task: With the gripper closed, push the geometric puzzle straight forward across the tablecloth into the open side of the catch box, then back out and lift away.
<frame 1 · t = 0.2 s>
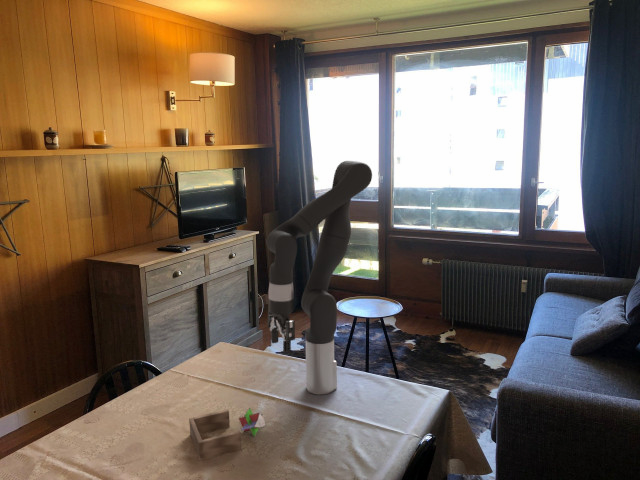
hand: (280, 347, 159), 18 cm above the table, tool pointing down, fingers open, 8 cm apart
catch box: (217, 441, 141), on the table
geometric puzzle: (252, 433, 145), on the table
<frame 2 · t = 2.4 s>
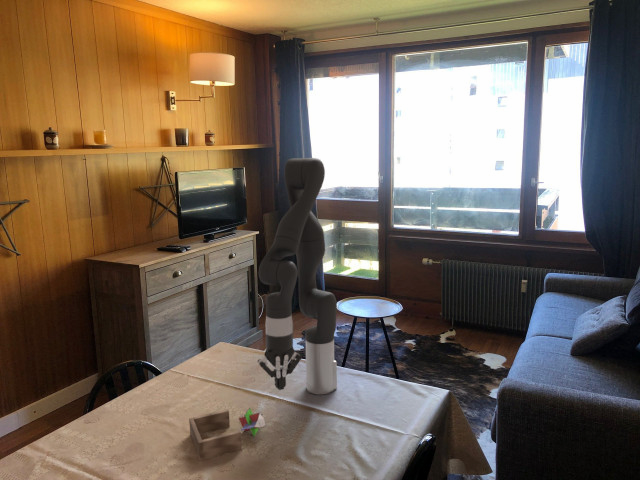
hand: (280, 388, 146), 11 cm above the table, tool pointing down, fingers closed
nothing on the table moved.
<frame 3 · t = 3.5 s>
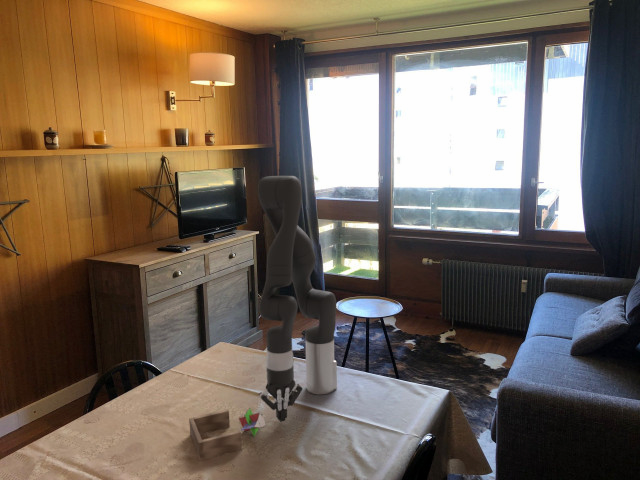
hand: (281, 419, 148), 2 cm above the table, tool pointing down, fingers closed
nothing on the table moved.
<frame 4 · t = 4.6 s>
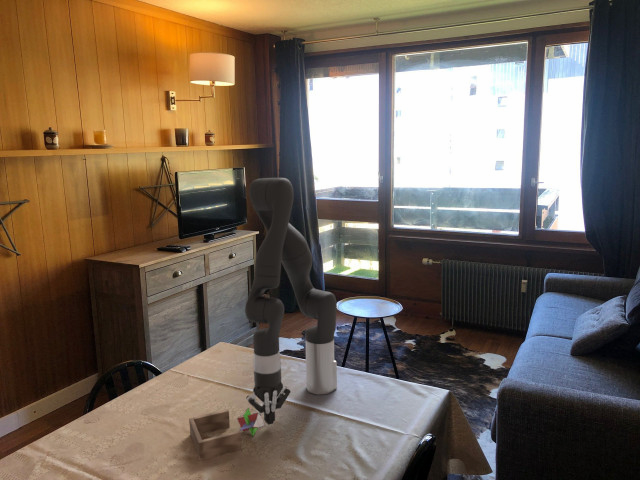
hand: (269, 422, 147), 2 cm above the table, tool pointing down, fingers closed
geometric puzzle: (250, 433, 145), on the table, touching gripper
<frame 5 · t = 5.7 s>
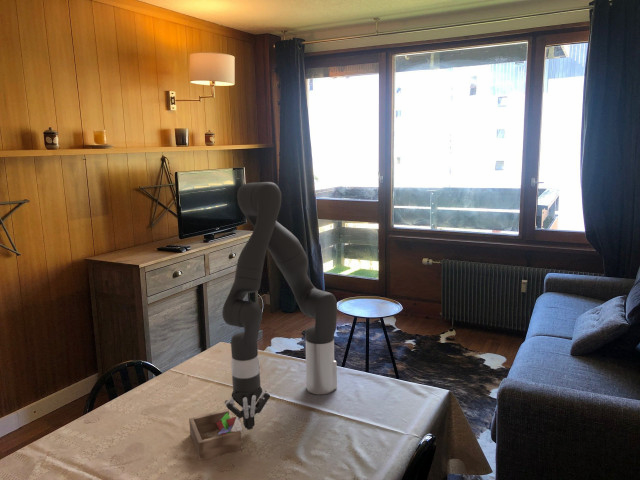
hand: (249, 427, 144), 2 cm above the table, tool pointing down, fingers closed
geometric puzzle: (229, 437, 143), on the table, touching gripper
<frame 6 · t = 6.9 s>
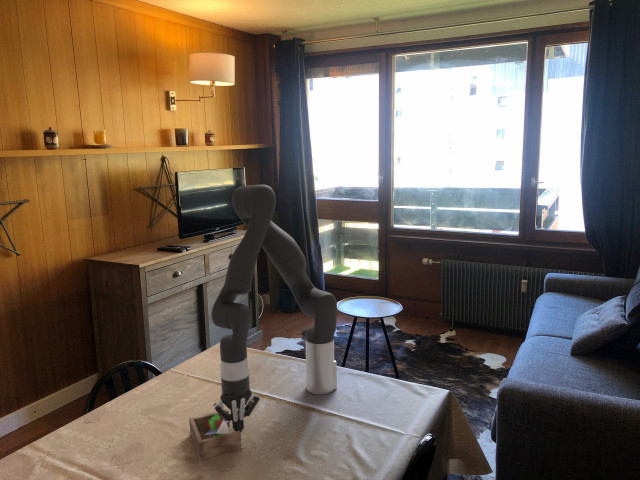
hand: (238, 431, 143), 2 cm above the table, tool pointing down, fingers closed
geometric puzzle: (218, 438, 142), on the table, touching gripper
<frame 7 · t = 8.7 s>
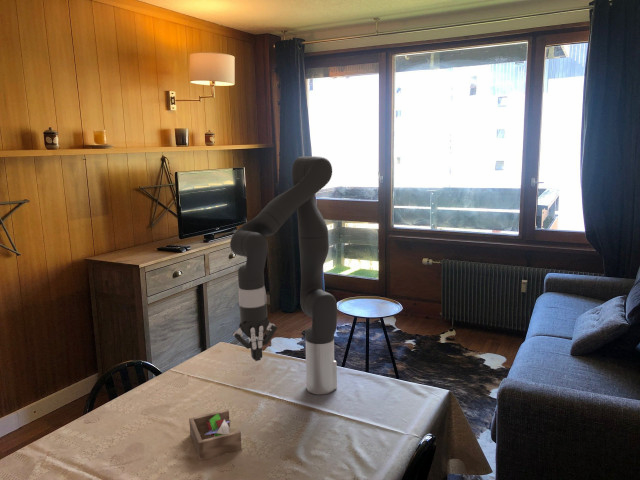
hand: (257, 359, 147), 19 cm above the table, tool pointing down, fingers closed
geometric puzzle: (218, 438, 143), on the table
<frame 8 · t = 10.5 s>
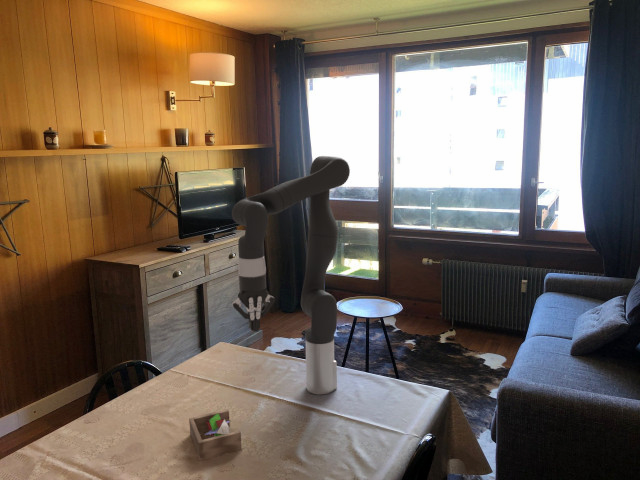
hand: (254, 330, 147), 27 cm above the table, tool pointing down, fingers closed
nothing on the table moved.
at the end: geometric puzzle 1.6 cm off-centre on the catch box, point 0.0 cm above the catch box's base; geometric puzzle tilted 0° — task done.
